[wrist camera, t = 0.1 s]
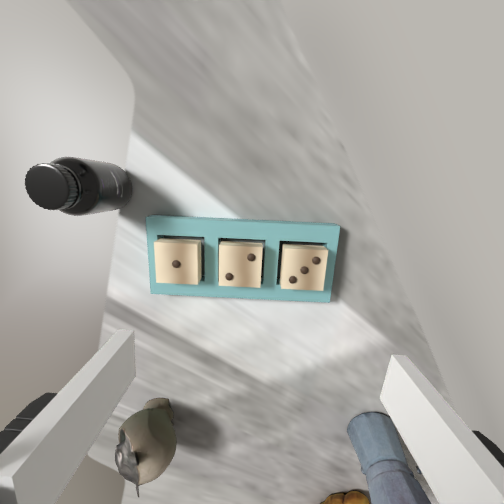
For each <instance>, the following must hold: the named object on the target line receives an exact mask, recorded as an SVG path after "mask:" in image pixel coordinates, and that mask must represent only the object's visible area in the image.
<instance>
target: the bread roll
mask: <svg viewBox="0 0 504 504" xmlns="http://www.w3.org/2000/svg"><path fill="white" fill-rule="evenodd" d="M321 504H370V503H369V499H368V498H367V497H366V496H365V495H363V494H362V493H361V492H358V491H351V492H348V493H347V494H346V495H344V494H343V493H339V494H334V495H330V496H329V497H328V498H327V499H326V500H325V502H323V503H321Z"/></svg>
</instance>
